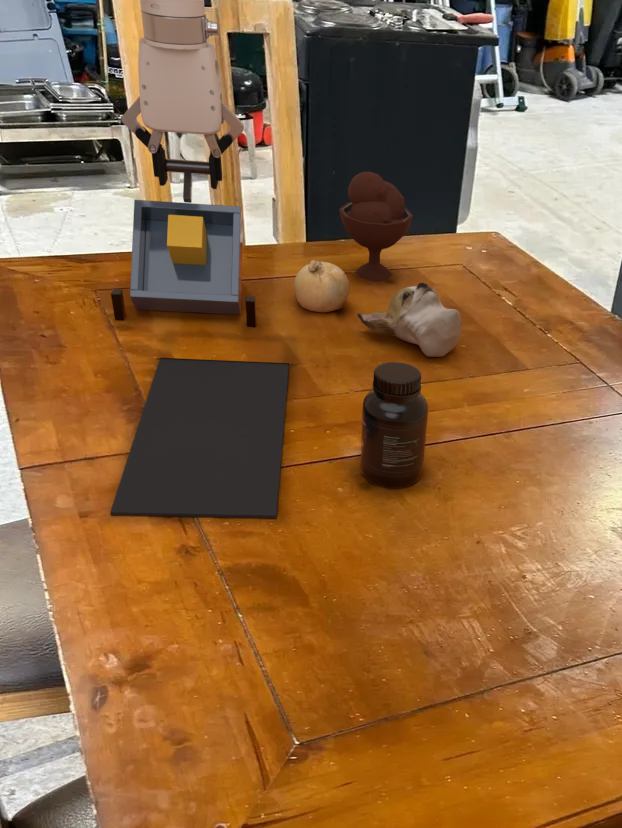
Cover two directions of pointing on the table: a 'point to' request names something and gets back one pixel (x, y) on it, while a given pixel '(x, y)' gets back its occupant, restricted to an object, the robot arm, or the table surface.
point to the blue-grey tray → (185, 283)
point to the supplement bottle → (394, 427)
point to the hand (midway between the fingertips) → (189, 183)
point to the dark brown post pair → (121, 314)
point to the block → (187, 240)
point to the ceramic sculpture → (418, 320)
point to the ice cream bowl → (375, 220)
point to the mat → (207, 441)
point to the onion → (321, 287)
